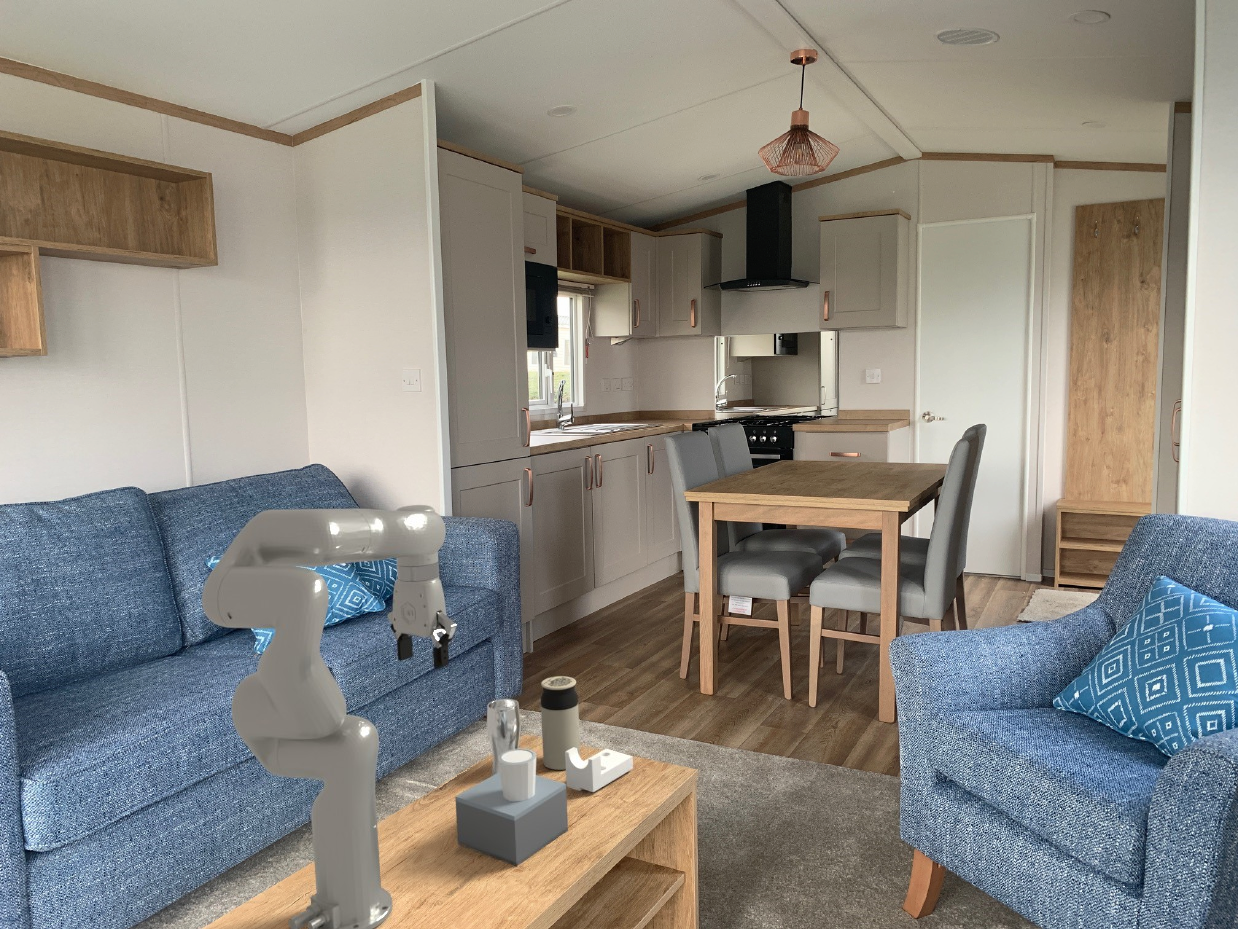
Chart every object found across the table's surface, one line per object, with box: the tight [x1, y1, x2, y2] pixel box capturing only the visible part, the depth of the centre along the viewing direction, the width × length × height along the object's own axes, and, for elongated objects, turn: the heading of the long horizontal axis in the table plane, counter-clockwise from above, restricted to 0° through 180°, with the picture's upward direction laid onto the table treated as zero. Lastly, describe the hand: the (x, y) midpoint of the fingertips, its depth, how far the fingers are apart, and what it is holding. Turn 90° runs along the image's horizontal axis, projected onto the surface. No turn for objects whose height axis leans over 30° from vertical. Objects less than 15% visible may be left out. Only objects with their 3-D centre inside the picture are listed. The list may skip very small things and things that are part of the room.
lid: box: [454, 772, 567, 821], centre depth 156 cm, size 14×14×1 cm
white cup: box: [498, 748, 537, 801], centre depth 154 cm, size 7×7×7 cm
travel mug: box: [540, 675, 581, 771], centre depth 187 cm, size 8×8×18 cm
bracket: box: [565, 747, 634, 793], centre depth 179 cm, size 13×7×8 cm, turn 142°
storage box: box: [455, 788, 569, 867], centre depth 157 cm, size 14×14×8 cm
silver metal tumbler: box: [486, 698, 522, 776], centre depth 183 cm, size 7×7×15 cm
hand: (423, 662), depth 162 cm, fingers open, 9 cm apart
